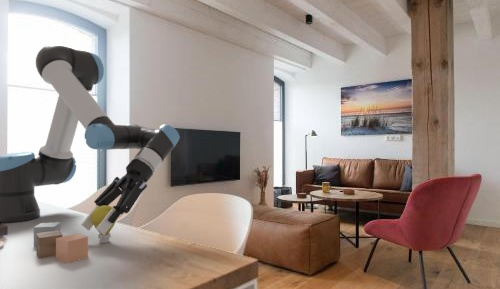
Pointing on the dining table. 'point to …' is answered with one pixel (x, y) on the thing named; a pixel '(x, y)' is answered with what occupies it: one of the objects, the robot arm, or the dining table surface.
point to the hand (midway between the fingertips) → (92, 229)
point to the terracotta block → (71, 248)
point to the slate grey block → (45, 228)
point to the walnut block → (47, 243)
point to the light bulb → (97, 219)
